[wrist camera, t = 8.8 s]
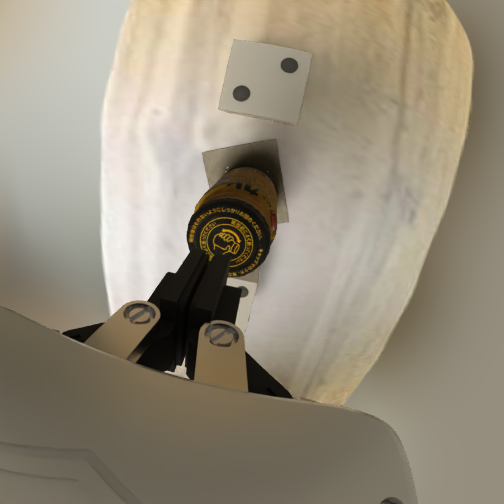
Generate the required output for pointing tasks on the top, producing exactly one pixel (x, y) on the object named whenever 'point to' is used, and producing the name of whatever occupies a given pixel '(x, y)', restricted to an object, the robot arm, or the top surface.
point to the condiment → (240, 205)
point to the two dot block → (265, 81)
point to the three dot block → (245, 296)
